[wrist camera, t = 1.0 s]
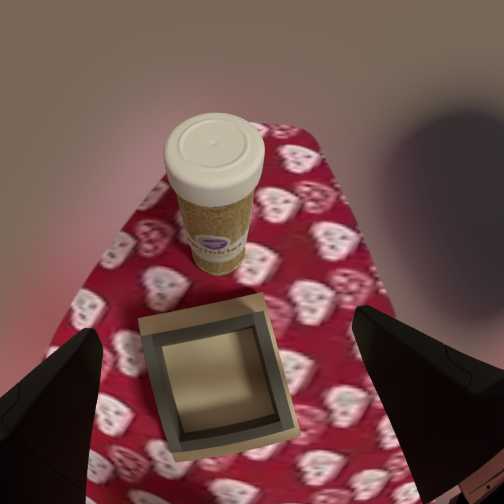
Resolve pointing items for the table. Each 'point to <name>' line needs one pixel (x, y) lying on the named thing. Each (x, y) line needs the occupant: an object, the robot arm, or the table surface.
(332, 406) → the table surface
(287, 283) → the table surface
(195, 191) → the sprinkles bottle
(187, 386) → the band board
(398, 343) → the robot arm
